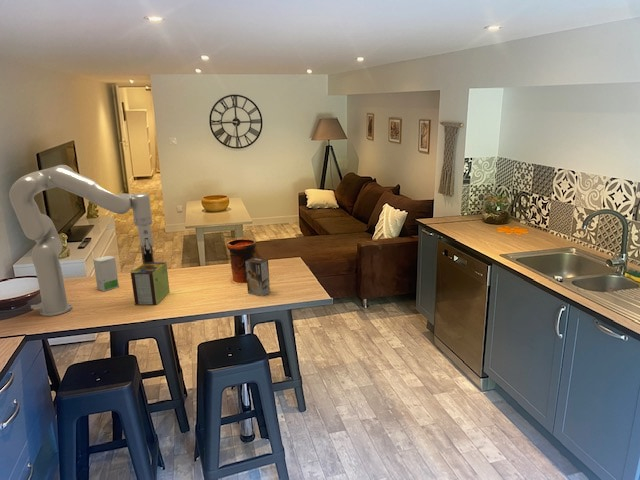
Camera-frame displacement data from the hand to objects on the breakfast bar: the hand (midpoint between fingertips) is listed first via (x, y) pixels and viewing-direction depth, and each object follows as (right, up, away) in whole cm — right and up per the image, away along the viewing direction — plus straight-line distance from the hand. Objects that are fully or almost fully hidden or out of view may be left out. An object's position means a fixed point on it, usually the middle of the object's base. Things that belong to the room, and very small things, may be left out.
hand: (147, 259), depth 217 cm
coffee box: (+49, -16, +9) cm, 53 cm away
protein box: (0, -18, +5) cm, 19 cm away
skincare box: (-27, -15, +19) cm, 36 cm away
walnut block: (0, -1, 0) cm, 1 cm away
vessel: (+39, -11, +27) cm, 49 cm away
